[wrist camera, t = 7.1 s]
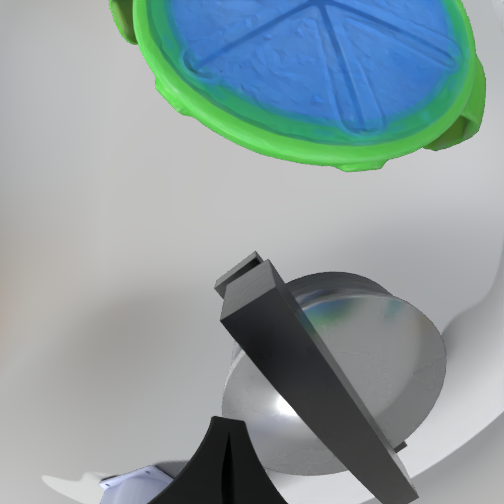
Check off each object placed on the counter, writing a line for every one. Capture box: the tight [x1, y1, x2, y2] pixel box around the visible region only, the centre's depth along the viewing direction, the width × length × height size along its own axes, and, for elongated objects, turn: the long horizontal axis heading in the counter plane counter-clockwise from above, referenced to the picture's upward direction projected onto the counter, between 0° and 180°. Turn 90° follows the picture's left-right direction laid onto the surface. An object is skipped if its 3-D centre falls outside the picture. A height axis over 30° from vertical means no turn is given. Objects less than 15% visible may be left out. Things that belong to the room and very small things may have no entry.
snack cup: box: [109, 0, 486, 172], centre depth 11 cm, size 16×10×10 cm
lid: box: [220, 259, 446, 504], centre depth 13 cm, size 18×13×4 cm
